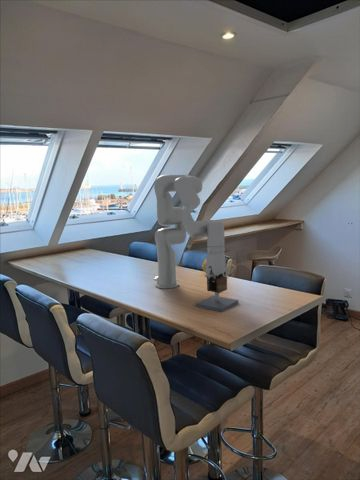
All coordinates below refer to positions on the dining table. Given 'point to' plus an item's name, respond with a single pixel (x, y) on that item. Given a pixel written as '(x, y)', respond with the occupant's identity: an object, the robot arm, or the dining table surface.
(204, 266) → the stress ball
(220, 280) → the wooden block stack
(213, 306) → the stand
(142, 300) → the dining table surface
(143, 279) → the dining table surface
